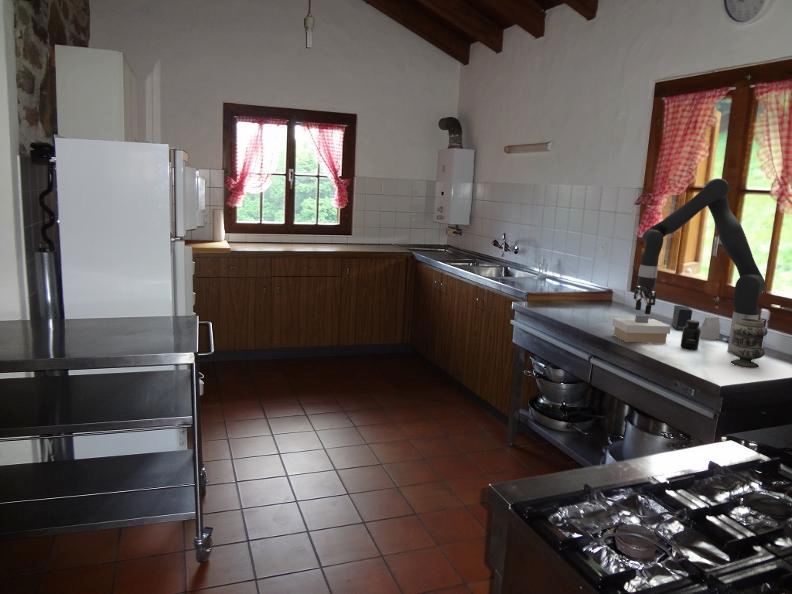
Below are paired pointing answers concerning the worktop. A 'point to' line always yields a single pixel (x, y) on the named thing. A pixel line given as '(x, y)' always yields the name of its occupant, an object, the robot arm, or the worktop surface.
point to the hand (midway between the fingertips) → (642, 312)
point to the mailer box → (640, 336)
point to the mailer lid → (641, 325)
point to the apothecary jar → (748, 342)
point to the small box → (681, 317)
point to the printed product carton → (710, 328)
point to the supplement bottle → (690, 335)
